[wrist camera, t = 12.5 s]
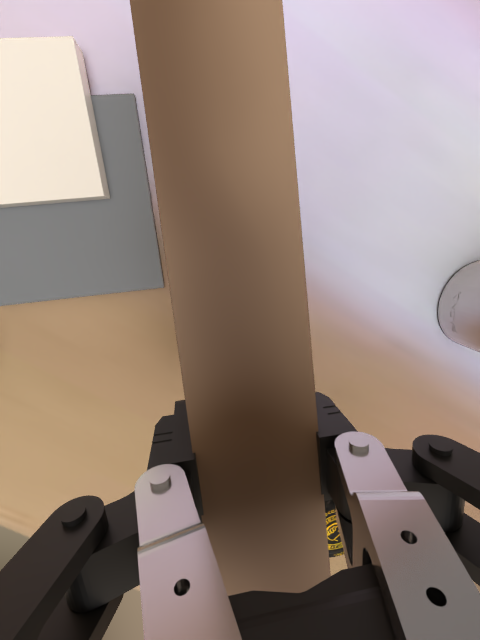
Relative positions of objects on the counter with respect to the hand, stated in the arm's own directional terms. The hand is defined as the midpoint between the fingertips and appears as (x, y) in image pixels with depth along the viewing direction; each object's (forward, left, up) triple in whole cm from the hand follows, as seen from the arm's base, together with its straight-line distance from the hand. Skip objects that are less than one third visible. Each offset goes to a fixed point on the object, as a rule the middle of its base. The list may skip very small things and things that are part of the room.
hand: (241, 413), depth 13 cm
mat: (+11, -10, -19) cm, 24 cm away
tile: (+12, -10, -17) cm, 23 cm away
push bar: (0, -4, -2) cm, 5 cm away
